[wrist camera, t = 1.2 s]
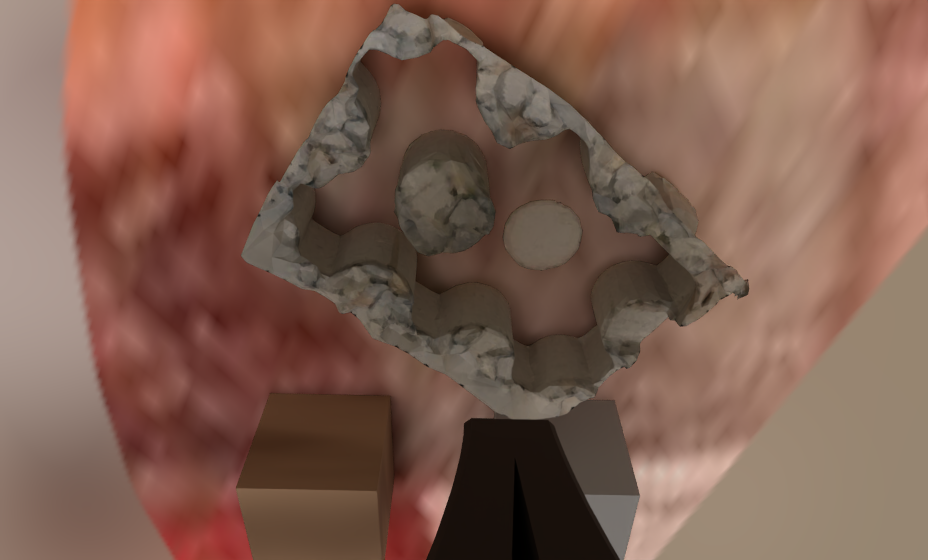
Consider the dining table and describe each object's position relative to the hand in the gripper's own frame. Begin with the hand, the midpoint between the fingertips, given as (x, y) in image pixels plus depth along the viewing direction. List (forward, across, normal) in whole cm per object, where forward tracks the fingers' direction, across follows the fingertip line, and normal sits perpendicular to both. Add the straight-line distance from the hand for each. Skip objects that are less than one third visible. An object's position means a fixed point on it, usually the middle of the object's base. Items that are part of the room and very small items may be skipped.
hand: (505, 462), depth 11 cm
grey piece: (+10, 0, 0) cm, 10 cm away
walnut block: (+9, +5, +9) cm, 14 cm away
